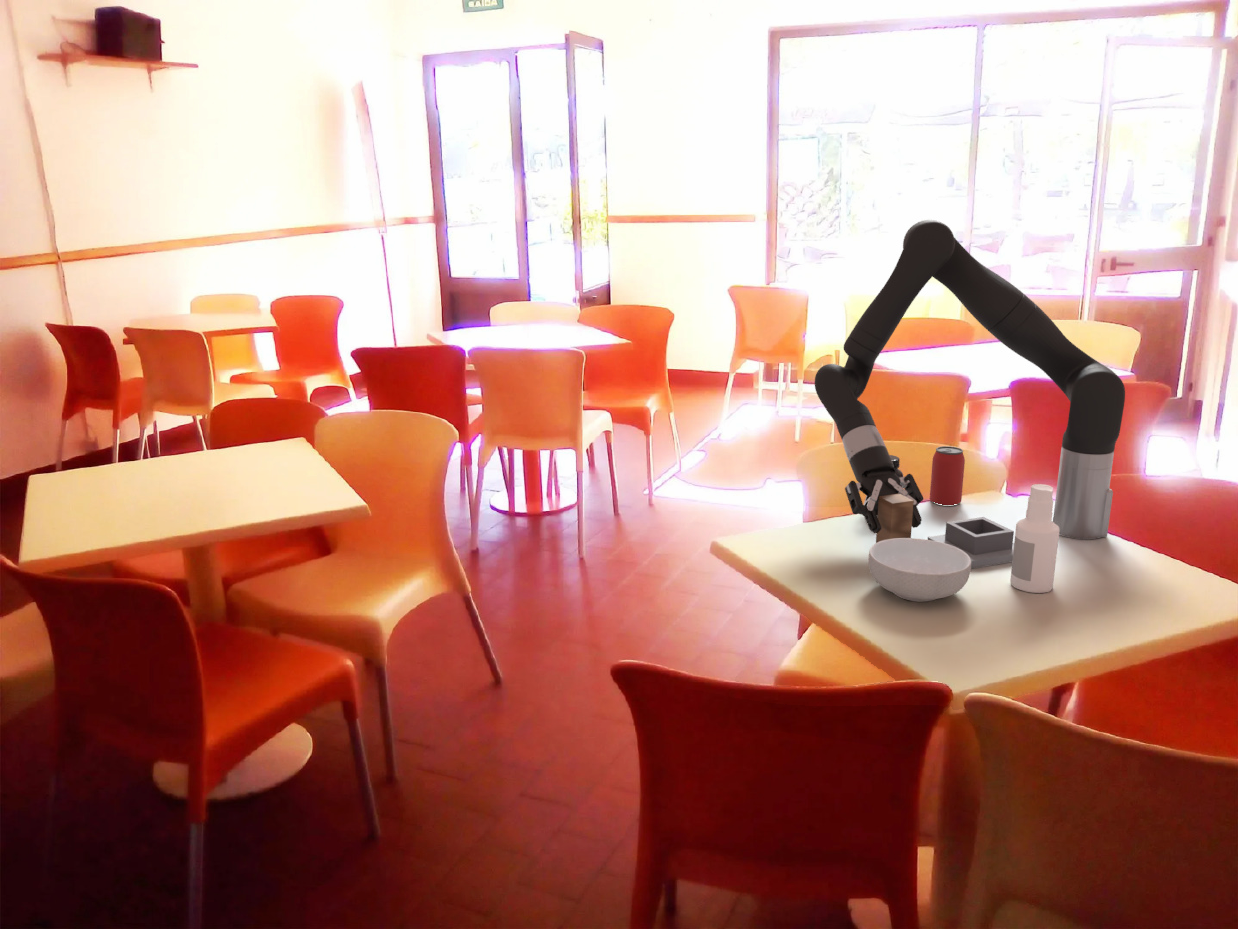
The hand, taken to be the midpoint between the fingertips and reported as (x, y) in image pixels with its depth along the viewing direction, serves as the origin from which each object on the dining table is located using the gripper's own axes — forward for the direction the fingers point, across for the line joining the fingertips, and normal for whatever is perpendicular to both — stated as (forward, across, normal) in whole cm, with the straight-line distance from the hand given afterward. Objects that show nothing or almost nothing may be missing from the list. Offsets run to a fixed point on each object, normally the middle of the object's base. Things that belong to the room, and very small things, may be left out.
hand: (897, 528), depth 179 cm
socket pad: (+6, +15, +1) cm, 17 cm away
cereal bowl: (+15, -6, -7) cm, 18 cm away
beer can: (-12, +28, +20) cm, 36 cm away
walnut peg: (+3, 0, +5) cm, 6 cm away
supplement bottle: (-12, +12, +20) cm, 26 cm away
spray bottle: (+18, +14, -10) cm, 25 cm away
